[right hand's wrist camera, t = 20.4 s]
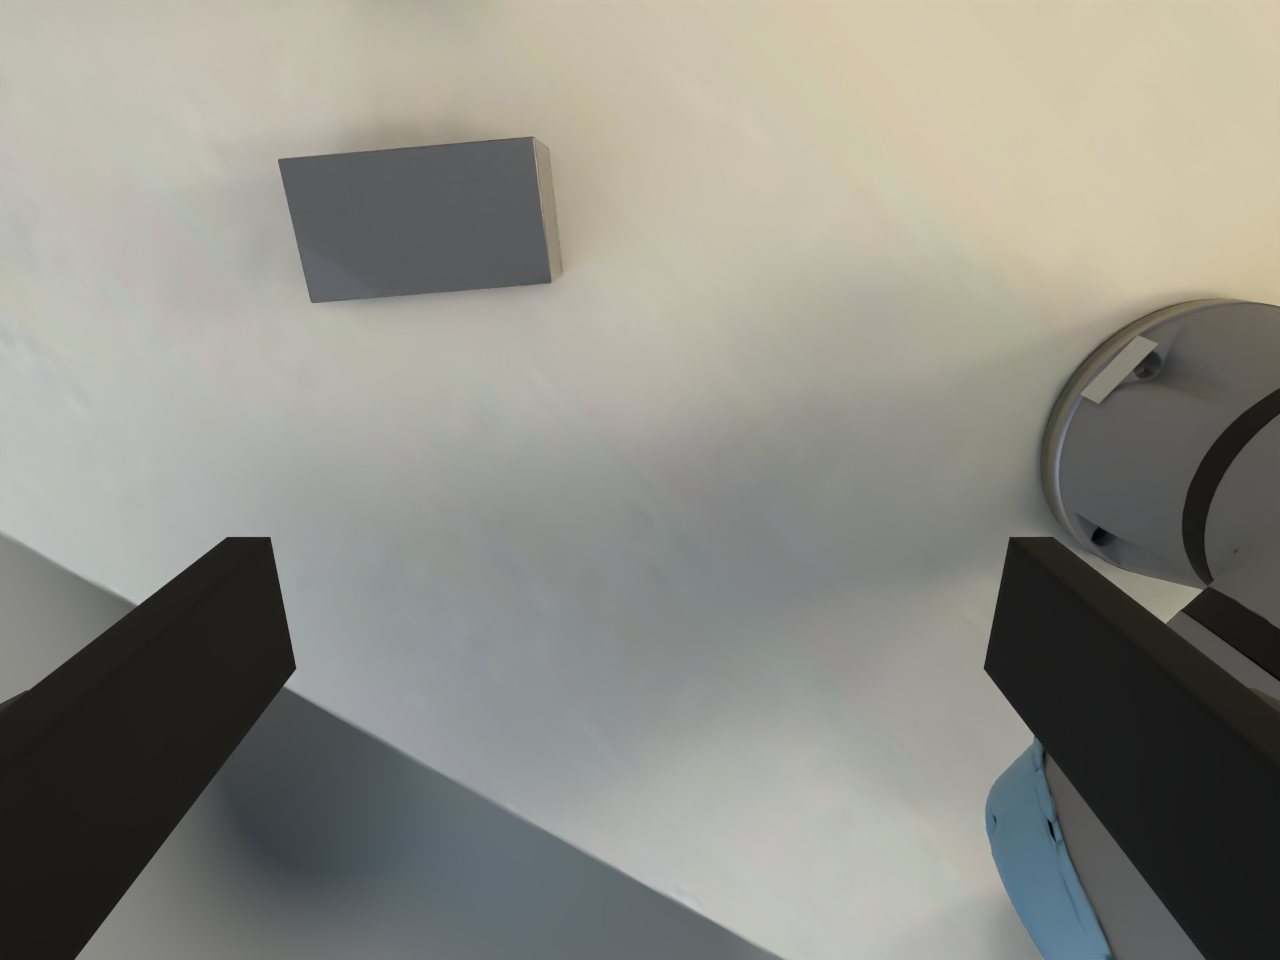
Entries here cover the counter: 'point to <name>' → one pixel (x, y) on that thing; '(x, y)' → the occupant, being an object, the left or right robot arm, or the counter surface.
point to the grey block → (424, 219)
